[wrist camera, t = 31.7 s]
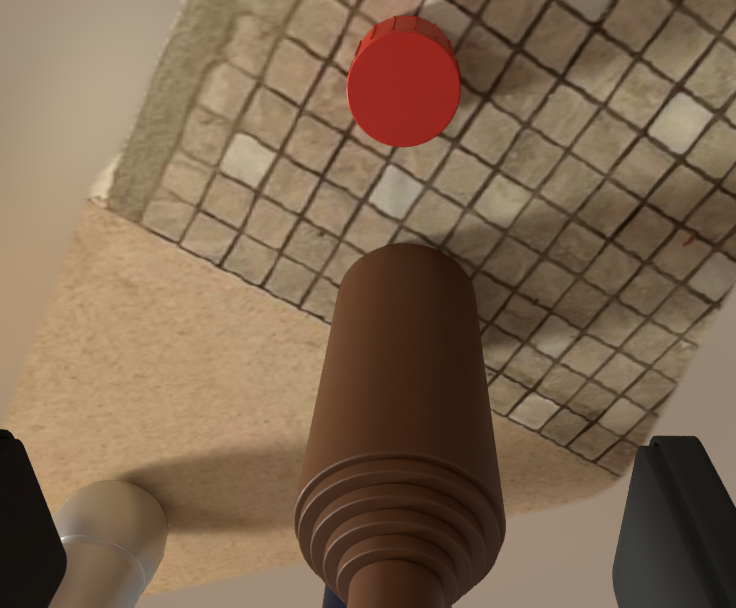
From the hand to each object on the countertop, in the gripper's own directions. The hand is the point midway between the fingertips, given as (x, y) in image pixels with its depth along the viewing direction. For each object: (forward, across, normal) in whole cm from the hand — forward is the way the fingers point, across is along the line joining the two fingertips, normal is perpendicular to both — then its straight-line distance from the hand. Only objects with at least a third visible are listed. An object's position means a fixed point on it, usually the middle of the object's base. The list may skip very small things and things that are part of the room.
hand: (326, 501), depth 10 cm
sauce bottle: (+20, -1, +8) cm, 21 cm away
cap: (+20, -1, -2) cm, 20 cm away
